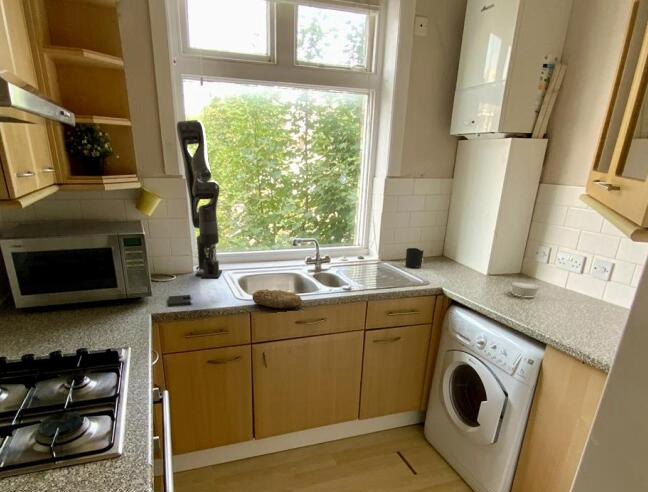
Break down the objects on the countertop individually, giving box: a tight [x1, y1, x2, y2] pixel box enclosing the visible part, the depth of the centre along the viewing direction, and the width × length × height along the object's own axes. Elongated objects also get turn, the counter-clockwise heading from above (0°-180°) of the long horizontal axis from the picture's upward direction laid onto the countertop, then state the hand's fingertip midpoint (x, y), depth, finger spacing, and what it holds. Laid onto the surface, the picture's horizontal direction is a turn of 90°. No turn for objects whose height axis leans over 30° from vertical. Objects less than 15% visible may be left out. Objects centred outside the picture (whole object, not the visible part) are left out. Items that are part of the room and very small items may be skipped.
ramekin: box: [511, 281, 540, 299], centre depth 193 cm, size 11×11×5 cm
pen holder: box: [405, 247, 424, 270], centre depth 239 cm, size 9×9×10 cm
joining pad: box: [195, 259, 223, 280], centre depth 178 cm, size 10×10×6 cm
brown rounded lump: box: [251, 289, 303, 309], centre depth 174 cm, size 13×8×20 cm
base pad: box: [167, 294, 192, 307], centre depth 178 cm, size 10×9×1 cm
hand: (211, 272), depth 179 cm, fingers closed on joining pad
